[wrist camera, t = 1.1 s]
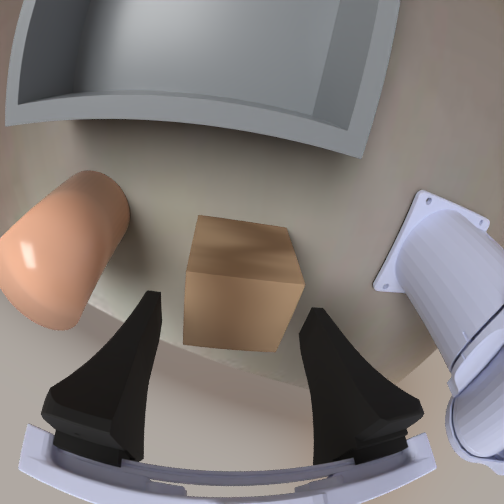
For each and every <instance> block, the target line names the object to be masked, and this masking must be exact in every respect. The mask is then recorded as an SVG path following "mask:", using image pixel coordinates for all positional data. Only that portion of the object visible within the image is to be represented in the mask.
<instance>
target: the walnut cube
mask: <svg viewBox="0 0 504 504" xmlns="http://www.w3.org/2000/svg"><path fill="white" fill-rule="evenodd" d="M304 287H305V282H304V279H303V276H302V273H301V270H300V267H299V264H298V261H297V258H296V255H295V252H294V249H293V246H292V243H291V240H290V237H289V234H288V231H287V228H285V227H278V226H272V225H265V224H259V223H252V222H245V221H238V220H231V219H224V218H217V217H210V216H202V215H198V219H197V223H196V228H195V232H194V237H193V241H192V246H191V250H190V255H189V260H188V265H187V270H186V282H185V301H184V326H183V345H191V346H200V347H209V348H219V349H231V350H244V351H260V352H276V350H277V348H278V346H279V344H280V342H281V339H282V337H283V335H284V333H285V331H286V328H287V326H288V324H289V322H290V319H291V317H292V315H293V313H294V310H295V308H296V306H297V303H298V301H299V299H300V296H301V294H302V292H303V289H304Z"/></svg>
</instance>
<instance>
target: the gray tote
mask: <svg viewBox="0 0 504 504" xmlns="http://www.w3.org/2000/svg"><path fill="white" fill-rule="evenodd" d="M399 6H400V0H24V2H23V5H22V9H21V12H20V16H19V19H18V23H17V27H16V31H15V36H14V40H13V45H12V51H11V57H10V63H9V71H8V79H7V91H6V110H5V127H6V126H12V125H19V124H27V123H36V122H46V121H58V120H75V119H140V120H158V121H171V122H182V123H192V124H201V125H209V126H216V127H223V128H230V129H236V130H242V131H248V132H254V133H259V134H264V135H269V136H274V137H279V138H284V139H288V140H292V141H297V142H301V143H305V144H309V145H313V146H317V147H321V148H325V149H328V150H332V151H335V152H339V153H342V154H346V155H349V156H352V157H356V158H359V159H362V156H363V153H364V150H365V147H366V143H367V140H368V137H369V134H370V130H371V127H372V123H373V120H374V117H375V113H376V110H377V106H378V102H379V99H380V95H381V91H382V87H383V83H384V79H385V75H386V71H387V67H388V62H389V58H390V53H391V49H392V44H393V39H394V34H395V29H396V24H397V18H398V12H399Z"/></svg>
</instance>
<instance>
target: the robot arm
mask: <svg viewBox="0 0 504 504" xmlns="http://www.w3.org/2000/svg"><path fill="white" fill-rule="evenodd" d="M427 198H428V201H427V202H426V200H427ZM489 223H490V222H489V220H488V219H487V218H485V217H483V216H481V215H479V214H477V213H475V212H473V211H471V210H469V209H467V208H465V207H462V206H460V205H458V204H456V203H454V202H451V201H449V200H447V199H444V198H442V197H440V196H437V195H435V194H432V193H430V192H427V191H425V190H420V191H418V192H417V194H416V195H415V198H414V200H413V203H412V205H411V207H410V210H409V212H408V214H407V217H406V219H405V221H404V223H403V225H402V228H401V230H400V232H399V234H398V236H397V238H396V240H395V242H394V244H393V246H392V248H391V250H390V252H389V254H388V256H387V258H386V260H385V262H384V264H383V266H382V268H381V270H380V272H379V274H378V275H377V277H376V279H375V281H374V283H373V287H374V289H375V290H376V291H385V292H398V293H406V295H407V296H408V298H409V299H410V301H411V303H412V304H413V306H414V307H415V309H416V311H417V312H418V314H419V316H420V317H421V319H422V321H423V323H424V324H425V326H426V328H427V329H428V331H429V333H430V335H431V337H432V338H433V340H434V342H435V344H436V346H437V348H438V349H439V351H440V353H441V355H442V357H443V359H444V361H445V363H446V365H447V367H448V369H449V371H450V372H451V374H452V376H451V378H450V380H449V381H448V382H447V384H448V387H449V389H450V391H451V393H452V396H451V398H450V400H449V403H448V406H447V410H446V416H445V427H446V433H447V436H448V440H449V442H450V444H451V446H452V448H453V449H454V451H455V452H456V453H457V454H458V455H459V456H460V457H461V458H463V459H464V460H466V461H469V462H474V463H481V464H485V465H487V466H488V467H490V468H491V469H492V470H493V471H494V472H495V473H496V474H498V475H504V249H503V248H502V247H501V246H500V245H499V244H498V243H497V242H496V241H495V240H494V239H493V238H492V237H491V236H490V235H489V234H487V233H486V231H487V229H488V227H489ZM161 325H162V312H161V292H155V291H147V292H146V293H145V294H144V296H143V297H142V299H141V301H140V302H139V304H138V305H137V306H136V308H135V309H134V311H133V312H132V313H131V315H130V316H129V317H128V319H127V320H126V321H125V323H124V324H123V325H122V326H121V327H120V329H119V330H118V331H117V332H116V333H115V335H114V336H113V337H112V338H111V339H110V340H109V341H108V342H107V344H105V345H104V346H103V348H101V349H100V350H99V352H97V353H96V354H95V355H94V356H93V357H92V358H91V359H90V360H89V361H87V362H86V363H85V364H84V365H83V366H81V367H80V368H79V369H77V370H76V371H75V372H73V373H72V374H71V375H70V376H68V377H67V378H65V379H64V380H62V381H60V382H59V383H57V384H56V385H54V386H53V387H51V388H50V390H49V392H48V394H47V396H46V398H45V401H44V405H43V408H42V412H41V415H42V417H43V419H44V420H45V421H46V422H47V423H49V424H50V425H51V426H52V427H53V428H54V429H56V432H55V435H53V434H52V433H50V432H48V431H45V430H43V429H41V428H39V427H36V426H34V425H32V424H28V425H27V429H26V433H25V437H24V442H23V446H22V451H21V456H20V462H19V467H18V468H19V470H20V471H22V472H24V473H26V474H28V475H29V476H31V477H33V478H35V479H37V480H39V481H41V482H43V483H46V484H48V485H50V486H52V487H54V488H56V489H58V490H61V491H63V492H65V493H68V494H70V495H72V496H75V497H78V498H80V499H83V500H86V501H88V502H91V503H94V504H360V503H363V502H366V501H368V500H371V499H374V498H376V497H379V496H381V495H383V494H386V493H388V492H390V491H392V490H395V489H397V488H399V487H401V486H403V485H406V484H408V483H410V482H412V481H414V480H416V479H417V478H420V477H422V476H424V475H425V474H427V473H429V472H431V471H433V470H435V469H436V468H437V466H436V463H435V459H434V456H433V453H432V450H431V447H430V444H429V441H428V438H427V435H426V433H422V434H419V435H416V436H414V437H411V438H409V439H407V440H406V438H405V436H406V435H407V434H408V432H407V428H408V427H410V426H411V425H412V424H414V423H415V422H417V421H418V420H419V419H421V418H422V417H423V415H424V411H423V409H422V406H421V404H420V401H419V399H417V398H415V397H413V396H411V395H409V394H408V393H406V392H404V391H403V390H401V389H400V388H398V387H397V386H396V385H394V384H393V383H391V382H390V381H389V380H387V379H386V378H385V377H384V376H382V375H381V374H380V373H379V372H378V371H377V370H375V369H374V368H373V367H372V366H371V365H370V364H369V363H368V362H367V361H366V360H365V359H364V358H363V357H362V356H361V355H360V354H359V352H358V351H357V350H356V349H355V348H354V347H353V346H352V344H351V343H350V342H349V341H348V340H347V338H346V337H345V336H344V335H343V333H342V332H341V331H340V330H339V328H338V327H337V326H336V324H335V323H334V322H333V320H332V319H331V318H330V316H329V315H328V314H327V313H326V311H325V310H324V309H323V308H311V310H310V313H309V315H308V317H307V319H306V321H305V323H304V325H303V327H302V329H301V331H300V333H299V340H300V350H301V355H302V360H303V364H304V368H305V372H306V376H307V380H308V385H309V389H310V394H311V402H312V412H313V427H314V457H313V466H307V467H299V468H290V469H280V470H267V471H244V472H243V471H230V472H229V471H203V470H190V469H180V468H171V467H164V466H157V465H151V464H145V463H140V462H139V461H141V460H142V459H144V425H145V411H146V400H147V391H148V385H149V379H150V375H151V371H152V367H153V363H154V359H155V355H156V351H157V347H158V343H159V338H160V332H161ZM327 476H328V477H327ZM322 477H327V478H326V479H322V480H318V481H313V482H310V483H308V484H305V485H302V486H298V487H295V493H289V494H280V495H269V496H255V497H194V496H193V497H192V496H187V491H186V490H185V488H184V487H183V486H177V485H171V484H165V483H159V482H153V481H151V480H150V479H153V480H159V481H166V482H174V483H183V484H194V485H210V486H250V485H251V486H253V485H269V484H281V483H289V482H297V481H304V480H311V479H316V478H322Z"/></svg>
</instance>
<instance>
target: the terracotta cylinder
mask: <svg viewBox="0 0 504 504" xmlns="http://www.w3.org/2000/svg"><path fill="white" fill-rule="evenodd" d="M129 221H130V209H129V205H128V201H127V199H126V197H125V194H124V193H123V191H122V189H121V188H120V187H119V186H118V184H117V183H116V182H115V181H114V180H112V179H111V178H110V177H108V176H106V175H105V174H102V173H100V172H96V171H82V172H79V173H76V174H75V175H73V176H72V177H70V178H69V179H68V180H66V181H65V182H64V183H62V184H61V185H60V186H58V187H57V188H56V189H55V190H53V191H52V192H51V193H50V194H48V195H47V196H46V197H45V198H43V199H42V200H41V201H40V202H39V203H37V204H36V205H35V206H34V207H33V208H32V209H31V210H29V211H28V212H27V213H26V214H25V215H24V216H23V217H22V218H21V219H20V220H18V221H17V222H16V223H15V224H14V225H13V226H12V227H11V228H10V229H9V230H8V231H7V232H6V233H5V234H4V235H3V236H2V237H1V238H0V288H1V290H2V291H3V293H4V294H5V296H6V297H7V299H8V300H9V301H10V302H11V303H12V305H13V306H14V307H15V308H16V309H17V310H19V311H20V312H21V313H22V314H23V315H24V316H26V317H27V318H29V319H30V320H31V321H33V322H35V323H37V324H39V325H41V326H43V327H46V328H49V329H52V330H68V329H71V328H73V327H74V326H75V325H76V324H77V323H78V321H79V319H80V317H81V315H82V313H83V311H84V309H85V306H86V304H87V302H88V300H89V298H90V296H91V294H92V292H93V290H94V288H95V286H96V284H97V282H98V280H99V278H100V277H101V275H102V273H103V271H104V269H105V267H106V265H107V264H108V262H109V260H110V258H111V256H112V255H113V253H114V251H115V249H116V248H117V246H118V244H119V243H120V241H121V239H122V238H123V236H124V234H125V233H126V231H127V228H128V225H129Z"/></svg>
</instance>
